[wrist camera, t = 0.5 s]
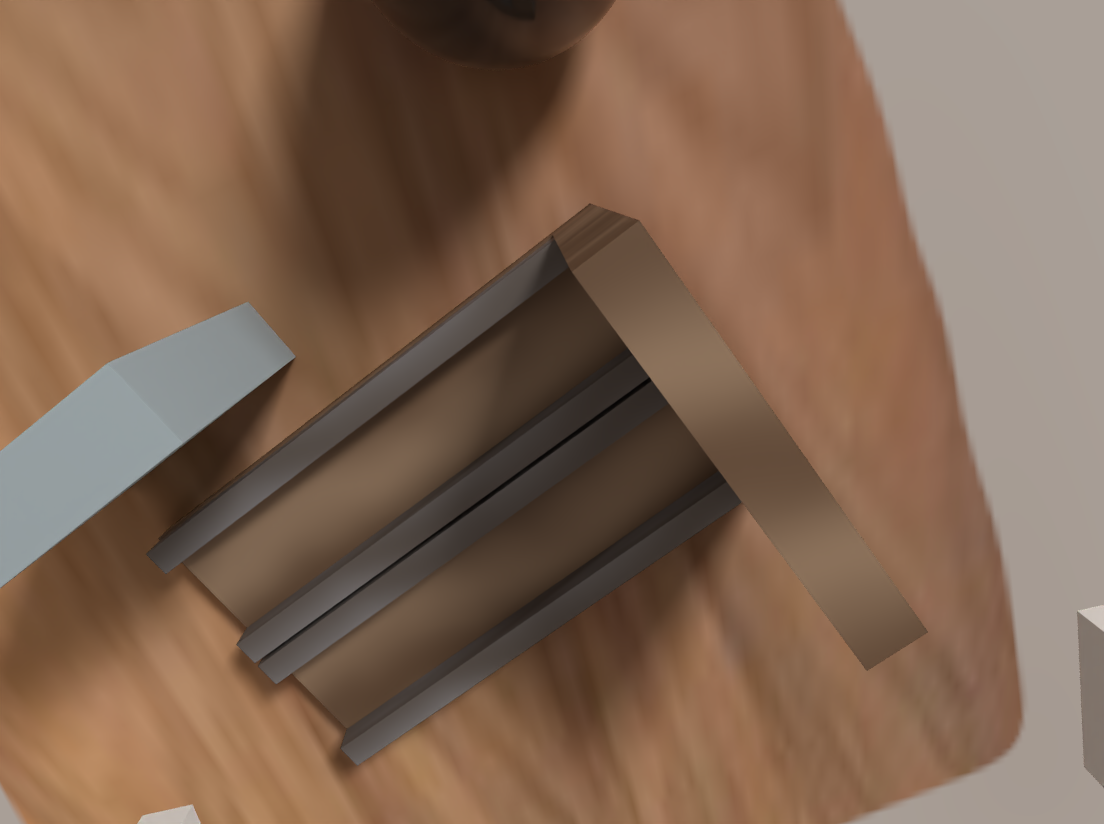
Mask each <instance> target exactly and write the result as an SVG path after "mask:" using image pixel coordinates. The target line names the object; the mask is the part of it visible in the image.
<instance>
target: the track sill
mask: <svg viewBox="0 0 1104 824" xmlns="http://www.w3.org/2000/svg"><path fill="white" fill-rule="evenodd" d="M740 503H743V504H744V505H745V507H746V508H747V510H748V511H749V512H750V514H751V515H752V516H753V518H754V519H755V520H756V522H757V523H758V524H759V526H760V527H761V528H762V530H763V531H764V533H765V534H766V535H767V537H768V538H769V539H770V541H771V542H772V543H773V545H774V546H775V547H776V549H777V550H778V551H779V553H780V554H781V555H782V557H783V558H784V560H785V561H786V562H787V564H788V565H789V566H790V568H791V569H792V570H793V572H794V573H795V574H796V576H797V577H798V578H799V580H800V581H801V583H802V584H803V585H804V587H805V588H806V589H807V591H808V592H809V593H810V595H811V596H812V597H813V599H814V600H815V601H816V603H817V604H818V606H819V607H820V608H821V610H822V611H823V612H824V614H825V615H826V616H827V618H828V619H829V620H830V622H831V623H832V624H833V626H834V627H835V628H836V630H837V631H838V633H839V634H840V635H841V637H842V638H843V639H844V641H845V642H846V643H847V645H848V646H849V647H850V649H851V650H852V651H853V653H854V654H855V656H856V657H857V658H858V660H859V661H860V662H861V664H862V665H863V666H864V668H865V669H866V670H869V669H871V668H872V667H874V666H875V665H877V664H879V663H880V662H882V661H883V660H885V659H886V658H888V657H890V656H891V655H893V654H894V653H896V652H897V651H899V650H901V649H902V648H904V647H905V646H907V645H909V644H910V643H912V642H913V641H915V640H916V639H918V638H920V637H921V636H923V635H924V634H926V633H928V631H927V630H926V628H925V627H924V626H923V624H922V623H921V621H920V620H919V618H918V617H917V616H916V614H915V613H914V611H913V610H912V608H911V607H910V606H909V604H908V603H907V601H906V600H905V598H904V597H903V596H902V594H901V593H900V591H899V590H898V589H897V587H896V586H895V584H894V583H893V581H892V580H891V579H890V577H889V576H888V574H887V573H886V571H885V570H884V569H883V567H882V566H881V564H880V563H879V561H878V560H877V559H876V557H875V556H874V554H873V553H872V551H871V550H870V549H869V547H868V546H867V544H866V543H865V541H864V540H863V539H862V537H861V536H860V534H859V533H858V531H857V530H856V529H855V527H854V526H853V524H852V523H851V522H850V520H849V519H848V517H847V516H846V514H845V513H844V512H843V510H842V509H841V507H840V506H839V504H838V503H837V502H836V500H835V499H834V497H833V496H832V494H831V493H830V492H829V490H828V489H827V487H826V486H825V484H824V483H823V482H822V480H821V479H820V477H819V476H818V474H817V473H816V472H815V470H814V469H813V467H812V466H811V465H810V463H809V462H808V460H807V459H806V457H805V456H804V455H803V453H802V452H801V450H800V449H799V447H798V446H797V445H796V443H795V442H794V440H793V439H792V437H791V436H790V435H789V433H788V432H787V430H786V429H785V427H784V426H783V425H782V423H781V422H780V420H779V419H778V417H777V416H776V415H775V413H774V412H773V410H772V409H771V407H770V406H769V405H768V403H767V402H766V400H765V399H764V398H763V396H762V395H761V393H760V392H759V390H758V389H757V388H756V386H755V385H754V383H753V382H752V380H751V379H750V378H749V376H748V375H747V373H746V372H745V370H744V369H743V368H742V366H741V365H740V363H739V362H738V360H737V359H736V358H735V356H734V355H733V353H732V352H731V350H730V349H729V348H728V346H727V345H726V343H725V342H724V341H723V339H722V338H721V336H720V335H719V333H718V332H717V331H716V329H715V328H714V326H713V325H712V323H711V322H710V321H709V319H708V318H707V316H706V315H705V313H704V312H703V311H702V309H701V308H700V306H699V305H698V303H697V302H696V301H695V299H694V298H693V296H692V295H691V293H690V292H689V291H688V289H687V288H686V286H685V285H684V283H683V282H682V281H681V279H680V278H679V276H678V275H677V274H676V272H675V271H674V269H673V268H672V266H671V265H670V264H669V262H668V261H667V259H666V258H665V256H664V255H663V254H662V252H661V251H660V249H659V248H658V246H657V245H656V244H655V242H654V241H653V239H652V238H651V236H650V235H649V234H648V232H647V231H646V229H645V228H644V226H643V225H642V224H641V222H640V221H639V220H636V219H633V218H631V217H628V216H625V215H622V214H619V213H616V212H613V211H610V210H607V209H604V208H601V207H598V206H595V205H593V204H589V205H588V206H586V207H585V208H584V209H582V210H581V211H580V212H578V213H577V214H576V215H575V216H573V217H572V218H571V219H569V220H568V221H567V222H566V223H564V224H563V225H562V226H560V227H559V228H558V229H556V230H555V231H554V232H553V233H551V234H550V235H549V236H547V237H546V238H545V239H543V240H542V241H541V242H540V243H538V244H537V245H536V246H534V247H533V248H532V249H531V250H529V251H528V252H527V253H525V254H524V255H523V256H521V257H520V258H519V259H518V260H516V261H515V262H514V263H512V264H511V265H510V266H509V267H507V268H506V269H505V270H503V271H502V272H501V273H499V274H498V275H497V276H496V277H494V278H493V279H492V280H490V281H489V282H488V283H486V284H485V285H484V286H483V287H481V288H480V289H479V290H477V291H476V292H475V293H474V294H472V295H471V296H470V297H468V298H467V299H466V300H464V301H463V302H462V303H461V304H459V305H458V306H457V307H455V308H454V309H453V310H452V311H450V312H449V313H448V314H446V315H445V316H444V317H442V318H441V319H440V320H439V321H437V322H436V323H435V324H433V325H432V326H431V327H429V328H428V329H427V330H426V331H424V332H423V333H422V334H420V335H419V336H418V337H417V338H415V339H414V340H413V341H411V342H410V343H409V344H407V345H406V346H405V347H404V348H402V349H401V350H400V351H398V352H397V353H396V354H394V355H393V356H392V357H391V358H389V359H388V360H387V361H385V362H384V363H383V364H382V365H380V366H379V367H378V368H376V369H375V370H374V371H372V372H371V373H370V374H369V375H367V376H366V377H365V378H363V379H362V380H361V381H360V382H358V383H357V384H356V385H354V386H353V387H352V388H350V389H349V390H348V391H347V392H345V393H344V394H343V395H341V396H340V397H339V398H337V399H336V400H335V401H334V402H332V403H331V404H330V405H328V406H327V407H326V408H325V409H323V410H322V411H321V412H319V413H318V414H317V415H315V416H314V417H313V418H312V419H310V420H309V421H308V422H306V423H305V424H304V425H303V426H301V427H300V428H299V429H297V430H296V431H295V432H293V433H292V434H291V435H290V436H288V437H287V438H286V439H284V440H283V441H282V442H280V443H279V444H278V445H277V446H275V447H274V448H273V449H271V450H270V451H269V452H268V453H266V454H265V455H264V456H262V457H261V458H260V459H258V460H257V461H256V462H255V463H253V464H252V465H251V466H249V467H248V468H247V469H245V470H244V471H243V472H242V473H240V474H239V475H238V476H236V477H235V478H234V479H233V480H231V481H230V482H229V483H227V484H226V485H225V486H223V487H222V488H221V489H220V490H218V491H217V492H216V493H214V494H213V495H212V496H211V497H209V498H208V499H207V500H205V501H204V502H203V503H201V504H200V505H199V506H198V507H196V508H195V509H194V510H192V511H191V512H190V513H188V514H187V515H186V516H185V517H183V518H182V519H181V520H179V521H178V522H177V523H176V524H174V525H173V526H172V527H170V528H169V529H168V530H167V531H166V532H165V533H164V534H163V535H162V536H161V537H160V538H159V540H160V541H159V542H158V543H157V544H156V545H155V546H154V547H153V548H152V549H151V550H150V551H149V552H148V553H147V554H146V555H147V556H148V557H149V558H150V559H151V560H152V561H153V562H154V563H155V564H156V565H157V566H158V567H159V568H160V569H161V570H162V571H163V572H164V573H165V574H167V573H168V572H169V571H171V570H172V569H173V568H175V567H176V566H177V565H179V564H180V563H181V562H182V563H183V564H184V565H185V566H186V567H187V568H188V569H189V570H190V571H191V572H192V573H193V574H194V575H195V576H196V577H197V578H198V579H199V580H200V581H201V582H202V583H203V584H204V585H205V586H206V587H207V588H208V589H209V590H210V591H211V592H212V593H213V594H214V595H215V596H216V597H217V598H218V599H219V600H220V601H221V602H222V603H223V604H224V605H225V606H226V607H227V608H228V609H229V611H230V612H231V613H232V614H233V615H234V616H235V617H236V618H237V619H238V620H239V621H240V622H241V623H242V624H243V625H244V626H245V627H246V630H245V632H244V633H243V635H242V636H241V638H240V640H239V641H238V643H237V644H236V645H237V646H238V647H239V648H240V649H241V650H242V651H243V652H244V653H245V654H246V655H247V656H248V657H249V658H250V659H251V660H252V661H253V662H254V663H256V662H257V661H259V660H260V659H261V658H262V660H261V662H260V663H259V665H258V667H259V668H260V669H261V670H262V671H263V672H264V673H265V674H266V675H267V676H268V677H269V678H270V679H271V680H272V681H273V682H274V683H275V684H277V683H279V682H280V681H282V680H283V679H284V678H286V677H287V676H289V675H290V674H291V673H292V674H293V675H294V676H295V677H296V678H297V679H298V680H299V681H300V682H301V683H302V684H303V685H304V686H305V687H306V688H307V689H308V690H309V691H310V692H311V693H312V694H313V695H314V696H315V697H316V698H317V699H318V700H319V701H320V702H321V703H322V704H323V706H324V707H325V708H326V709H327V710H328V711H329V712H330V713H331V714H332V715H333V716H334V717H335V718H336V719H337V720H338V721H339V722H340V723H341V724H342V725H343V726H344V727H345V728H346V729H347V730H346V733H345V736H344V739H343V742H342V746H341V750H342V751H343V752H344V753H345V754H346V755H347V756H348V757H349V758H350V759H351V760H352V761H353V762H354V763H355V764H356V765H357V766H358V765H359V764H360V763H362V762H363V761H365V760H366V759H368V758H369V757H371V756H372V755H374V754H375V753H377V752H378V751H379V750H381V749H382V748H384V747H385V746H387V745H388V744H390V743H391V742H393V741H394V740H396V739H397V738H398V737H400V736H401V735H403V734H404V733H406V732H407V731H409V730H410V729H412V728H413V727H414V726H416V725H417V724H419V723H420V722H422V721H423V720H425V719H426V718H428V717H429V716H431V715H432V714H433V713H435V712H436V711H438V710H439V709H441V708H442V707H444V706H445V705H447V704H448V703H450V702H451V701H452V700H454V699H455V698H457V697H458V696H460V695H461V694H463V693H464V692H466V691H467V690H469V689H470V688H471V687H473V686H474V685H476V684H477V683H479V682H480V681H482V680H483V679H485V678H486V677H488V676H489V675H490V674H492V673H493V672H495V671H496V670H498V669H499V668H501V667H502V666H504V665H505V664H507V663H508V662H509V661H511V660H512V659H514V658H515V657H517V656H518V655H520V654H521V653H523V652H524V651H526V650H527V649H528V648H530V647H531V646H533V645H534V644H536V643H537V642H539V641H540V640H542V639H543V638H544V637H546V636H547V635H549V634H550V633H552V632H553V631H555V630H556V629H558V628H559V627H561V626H562V625H563V624H565V623H566V622H568V621H569V620H571V619H572V618H574V617H575V616H577V615H578V614H580V613H581V612H582V611H584V610H585V609H587V608H588V607H590V606H591V605H593V604H594V603H596V602H597V601H599V600H600V599H601V598H603V597H604V596H606V595H607V594H609V593H610V592H612V591H613V590H615V589H616V588H618V587H619V586H620V585H622V584H623V583H625V582H626V581H628V580H629V579H631V578H632V577H634V576H635V575H637V574H638V573H639V572H641V571H642V570H644V569H645V568H647V567H648V566H650V565H651V564H653V563H654V562H655V561H657V560H658V559H660V558H661V557H663V556H664V555H666V554H667V553H669V552H670V551H672V550H673V549H674V548H676V547H677V546H679V545H680V544H682V543H683V542H685V541H686V540H688V539H689V538H691V537H692V536H693V535H695V534H696V533H698V532H699V531H701V530H702V529H704V528H705V527H707V526H708V525H710V524H711V523H712V522H714V521H715V520H717V519H718V518H720V517H721V516H723V515H724V514H726V513H727V512H729V511H730V510H731V509H733V508H734V507H736V506H737V505H739V504H740Z"/></svg>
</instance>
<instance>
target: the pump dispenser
mask: <svg viewBox="0 0 1104 824" xmlns="http://www.w3.org/2000/svg"><path fill="white" fill-rule="evenodd" d="M371 1H372V2H373V3H374V5H375V6H376V7H377V9H378V10H379V11H380V12H381V13H382V15H383V16H384V17H385V18H386V19H387V20H388V21H389V22H390V23H391V24H392V25H393V26H394V27H395V28H396V29H397V30H398V31H399V32H400V33H401V34H402V35H404V36H405V37H406V38H407V39H409V40H410V41H411V42H413V43H414V44H416V45H417V46H418V47H420V48H422V49H423V50H425V51H427V52H428V53H430V54H432V55H434V56H436V57H438V58H440V59H443V60H445V61H448V62H451V63H453V64H457V65H460V66H464V67H469V68H474V69H481V70H511V69H518V68H523V67H527V66H531V65H535V64H538V63H541V62H544V61H546V60H548V59H551V58H553V57H555V56H557V55H559V54H561V53H562V52H564V51H566V50H567V49H569V48H570V47H572V46H573V45H575V44H576V43H577V42H579V41H580V40H581V39H583V38H584V37H585V36H586V35H587V34H588V33H589V32H590V31H592V30H593V29H594V27H595V26H596V25H597V24H598V23H599V22H600V21H601V20H602V19H603V17H604V16H605V15H606V14H607V12H608V11H609V10H610V8H611V7H612V5H613V4H614V2H615V1H616V0H371Z"/></svg>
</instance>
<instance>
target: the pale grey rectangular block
mask: <svg viewBox="0 0 1104 824" xmlns="http://www.w3.org/2000/svg"><path fill="white" fill-rule="evenodd" d="M295 357H296V356H295V355H294V354H293V353H292V352H291V350H290V349H289V348H288V347H287V346H286V345H285V344H284V342H283V341H282V340H281V339H280V338H279V337H278V335H277V334H276V333H275V332H274V331H273V330H272V329H271V327H270V326H269V325H268V324H267V323H266V322H265V320H264V319H263V318H262V317H261V316H260V315H259V314H258V312H257V311H256V310H255V309H254V308H253V307H252V306H251V304H250V303H249V302H246V303H244V304H242V305H239V306H237V307H235V308H232V309H230V310H228V311H226V312H223V313H221V314H219V315H216V316H214V317H212V318H210V319H207V320H205V321H203V322H200V323H198V324H196V325H193V326H191V327H189V328H187V329H184V330H182V331H180V332H177V333H175V334H173V335H170V336H168V337H166V338H164V339H161V340H159V341H157V342H154V343H152V344H150V345H148V346H145V347H143V348H141V349H138V350H136V351H134V352H131V353H129V354H127V355H125V356H122V357H120V358H118V359H115V360H113V361H111V362H109V363H107V364H106V365H105V366H103V367H102V368H101V369H100V370H98V371H97V372H96V373H95V374H94V375H92V376H91V377H90V378H89V379H88V380H86V381H85V382H84V383H83V384H81V385H80V386H79V387H78V388H77V389H75V390H74V391H73V392H72V393H71V394H69V395H68V396H67V397H66V398H64V399H63V400H62V401H61V402H60V403H58V404H57V405H56V406H55V407H54V408H52V409H51V410H50V411H49V412H47V413H46V414H45V415H44V416H43V417H41V418H40V419H39V420H38V421H37V422H35V423H34V424H33V425H32V426H30V427H29V428H28V429H27V430H26V431H24V432H23V433H22V434H21V435H20V436H18V437H17V438H16V439H15V440H13V441H12V442H11V443H10V444H9V445H7V446H6V447H5V448H4V449H3V450H1V451H0V588H1V587H3V586H4V585H5V584H7V583H8V582H9V581H10V580H12V579H13V578H14V577H16V576H17V575H18V574H19V573H21V572H22V571H23V570H25V569H26V568H27V567H28V566H30V565H31V564H32V563H34V562H35V561H36V560H37V559H39V558H40V557H41V556H43V555H44V554H45V553H46V552H48V551H49V550H50V549H52V548H53V547H54V546H55V545H57V544H58V543H59V542H61V541H62V540H63V539H64V538H66V537H67V536H68V535H70V534H71V533H72V532H73V531H75V530H76V529H77V528H79V527H80V526H81V525H83V524H84V523H85V522H86V521H88V520H89V519H90V518H92V517H93V516H94V515H95V514H97V513H98V512H99V511H101V510H102V509H103V508H104V507H106V506H107V505H108V504H110V503H111V502H112V501H113V500H115V499H116V498H117V497H119V496H120V495H121V494H122V493H124V492H125V491H126V490H128V489H129V488H130V487H131V486H133V485H134V484H135V483H136V482H138V481H139V480H140V479H142V478H143V477H144V476H145V475H147V474H148V473H149V472H150V471H152V470H153V469H154V468H155V467H157V466H158V465H159V464H161V463H162V462H163V461H164V460H166V459H167V458H168V457H169V456H171V455H172V454H173V453H175V452H176V451H177V450H178V449H180V448H181V447H182V446H183V445H185V444H186V443H187V442H188V441H190V440H191V439H192V438H194V437H195V436H196V435H197V434H199V433H200V432H201V431H202V430H204V429H205V428H206V427H207V426H209V425H210V424H211V423H213V422H214V421H215V420H216V419H218V418H219V417H220V416H221V415H223V414H224V413H225V412H226V411H228V410H229V409H230V408H232V407H233V406H234V405H235V404H237V403H238V402H239V401H240V400H242V399H243V398H244V397H245V396H247V395H248V394H249V393H251V392H252V391H253V390H254V389H256V388H257V387H258V386H259V385H261V384H262V383H263V382H265V381H266V380H267V379H268V378H270V377H271V376H272V375H273V374H275V373H276V372H277V371H278V370H280V369H281V368H282V367H284V366H285V365H286V364H287V363H289V362H290V361H291V360H292V359H294V358H295Z"/></svg>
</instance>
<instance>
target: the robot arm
mask: <svg viewBox="0 0 1104 824" xmlns="http://www.w3.org/2000/svg"><path fill="white" fill-rule="evenodd" d="M1077 616H1078V639H1079V662H1080V685H1081V707H1082V730H1083V753H1084V767H1085V768H1086V769H1087V770H1088V772H1089V773H1091V775H1093V777H1094V778H1095V779H1096V780H1097V781H1098V782H1099V783H1100V784H1101V785H1102V786H1103V787H1104V605H1102V606H1097V607H1093V608H1088V609H1084V610H1079V611H1077ZM138 824H201V823H200V821H199V819H198V816H197V814H196V812H195V809H194V807H193V805H188V806H184V807H179V808H174V809H170V810H165V811H161V812H156V813H152V814H147V815H142V817H141V819H140V820H139V822H138Z"/></svg>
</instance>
